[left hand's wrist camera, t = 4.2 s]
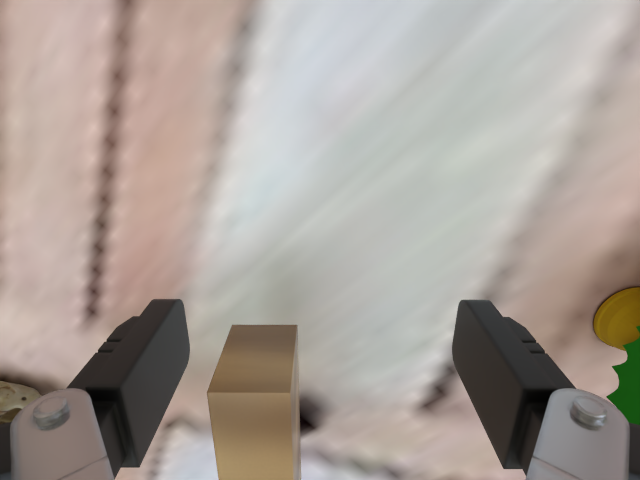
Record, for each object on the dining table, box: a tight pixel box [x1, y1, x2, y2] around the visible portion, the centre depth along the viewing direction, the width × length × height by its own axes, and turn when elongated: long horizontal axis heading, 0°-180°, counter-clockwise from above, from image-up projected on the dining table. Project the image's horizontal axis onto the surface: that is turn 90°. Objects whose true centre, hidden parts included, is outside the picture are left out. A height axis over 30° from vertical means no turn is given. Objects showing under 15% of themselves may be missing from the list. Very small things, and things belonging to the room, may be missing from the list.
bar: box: [207, 325, 301, 480], centre depth 35 cm, size 26×6×8 cm, turn 0°
